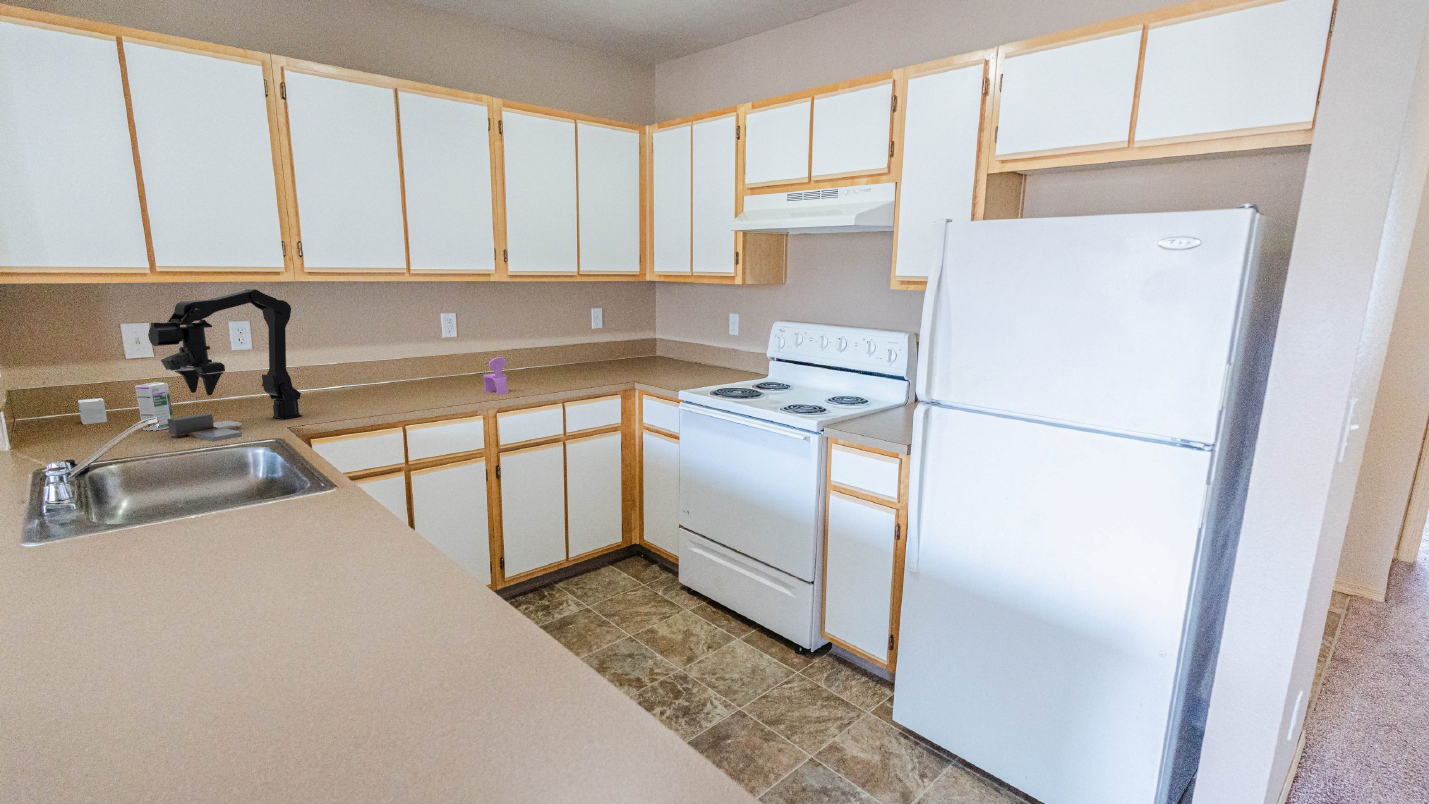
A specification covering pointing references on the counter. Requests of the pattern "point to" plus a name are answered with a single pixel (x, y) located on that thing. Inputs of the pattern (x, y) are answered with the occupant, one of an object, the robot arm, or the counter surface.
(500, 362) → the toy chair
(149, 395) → the syrup box
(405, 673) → the counter surface
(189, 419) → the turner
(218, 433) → the tile
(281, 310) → the robot arm
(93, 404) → the skincare box
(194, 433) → the plate
